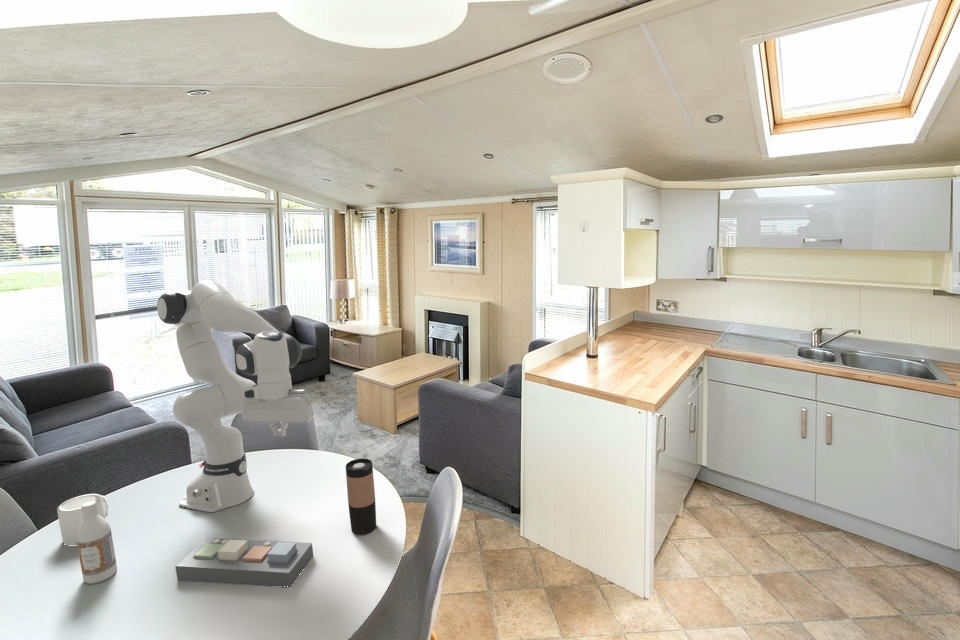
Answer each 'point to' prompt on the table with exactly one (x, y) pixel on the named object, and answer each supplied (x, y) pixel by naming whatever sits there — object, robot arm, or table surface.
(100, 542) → the bath foam
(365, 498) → the travel mug
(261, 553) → the terracotta key
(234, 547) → the cream key
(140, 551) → the table surface
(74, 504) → the mug
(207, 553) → the sage key
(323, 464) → the table surface
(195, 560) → the keypad
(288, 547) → the slate key
